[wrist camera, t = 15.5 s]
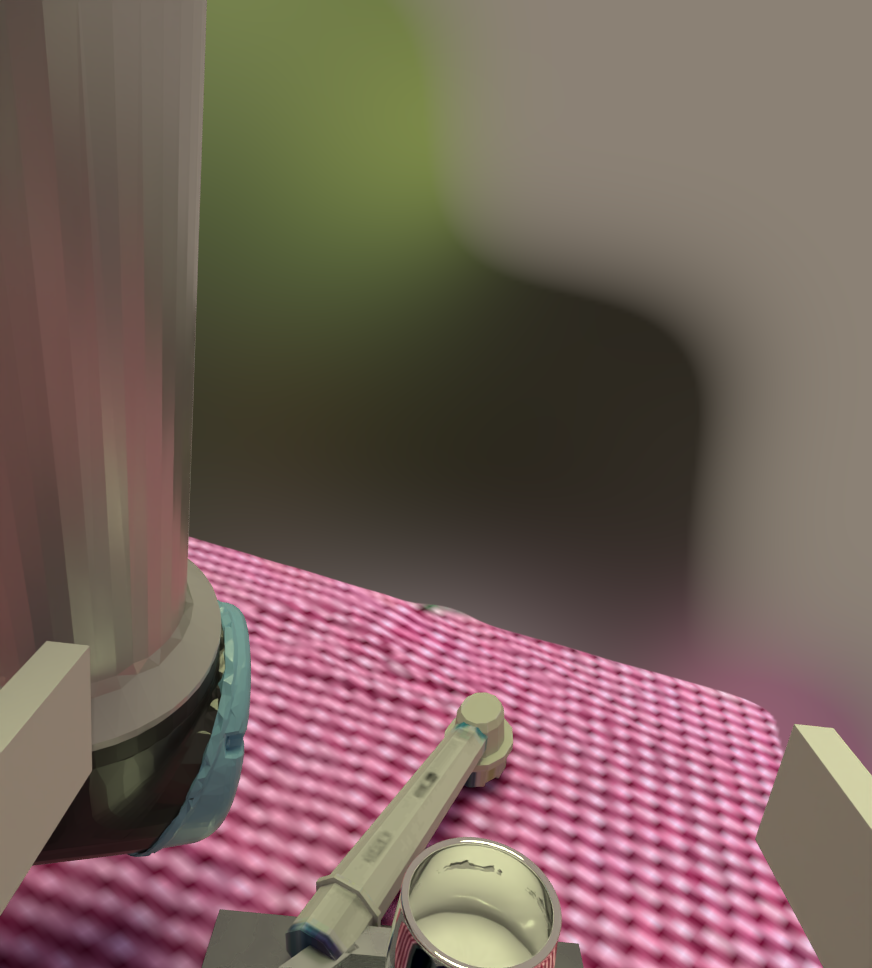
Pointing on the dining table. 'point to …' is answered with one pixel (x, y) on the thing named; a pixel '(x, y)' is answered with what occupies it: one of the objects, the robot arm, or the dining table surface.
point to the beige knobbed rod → (403, 831)
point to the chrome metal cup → (474, 910)
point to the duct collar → (266, 964)
